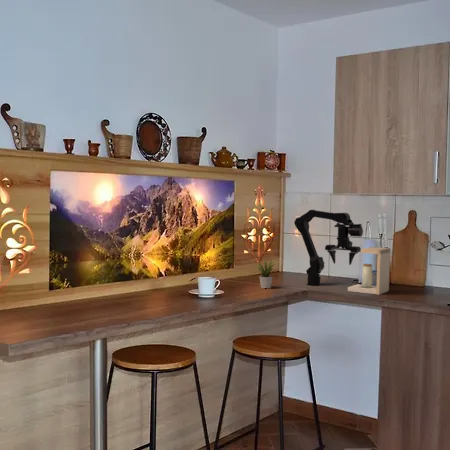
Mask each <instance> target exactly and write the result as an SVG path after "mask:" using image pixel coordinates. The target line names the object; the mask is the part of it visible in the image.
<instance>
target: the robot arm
mask: <svg viewBox="0 0 450 450" xmlns="http://www.w3.org/2000/svg"><path fill="white" fill-rule="evenodd" d="M314 218H318V219H319V218H320V219H325V220H331V221H333V222H336V224H335V225H334V228H337V237H336V240H337V244H326V245H325V247H324V251H327V253H328V254H329V256H330V258H331V260H332V263H333V264H336V253H337V251H338V250H339V251H340V250H341V251H348V252H349V251H350V252H349V253H348V265H349V266H351V265H352V263H353V260H354V257H355V256H356V255H357V254H359V253H361V249H362V248H361V246H356V245H353V242H352V241H351V240H350V237H362V236H363V234H364V230H363V226H362V225H363V224H362V223H358V224H357V223H354V222H353V220H352V219H351V215H350V214H349V213H348V212H330V211H329V212H328V211H323V210H316V209H308V210H307V212H305V213H304V214H302V215H301V216H299V217H296V218H295V219H294V225H295V228H296V230H297V231H298V232H299V233H300V234H301V237H302V240H303V242H304V246H305V248H306V251H307V254H308V257H309V267H308V268H307V269H306V270H305V271H306V275H307V284H306V285H307V286H320V285H321V280H322V277H321V273H322V271H323V270H324V269H325V264H326V263H325V262H324V258H323V256H319V255H318V252H317V250H316V247H315V244H314V241H313V239H312V235H311V233H310V224H309V223H310V222H311V221H312V220H313V219H314Z"/></svg>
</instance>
